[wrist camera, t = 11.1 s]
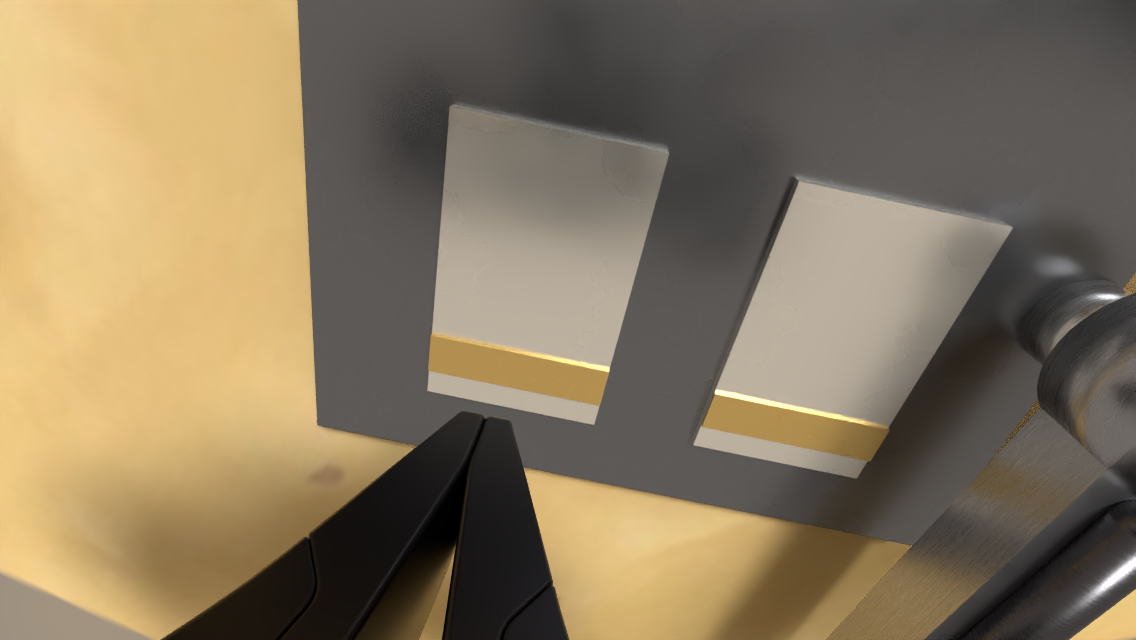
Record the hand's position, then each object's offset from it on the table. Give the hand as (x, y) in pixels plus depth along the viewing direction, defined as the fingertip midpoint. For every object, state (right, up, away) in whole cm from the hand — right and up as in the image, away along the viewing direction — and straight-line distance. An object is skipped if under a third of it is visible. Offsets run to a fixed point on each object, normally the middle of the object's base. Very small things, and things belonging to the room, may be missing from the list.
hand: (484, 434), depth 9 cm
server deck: (+5, +4, +5) cm, 8 cm away
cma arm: (+12, -6, +7) cm, 15 cm away
